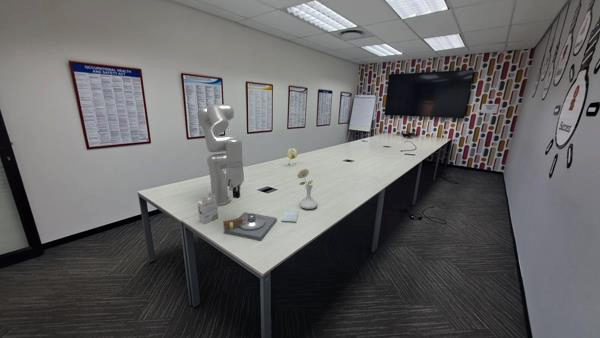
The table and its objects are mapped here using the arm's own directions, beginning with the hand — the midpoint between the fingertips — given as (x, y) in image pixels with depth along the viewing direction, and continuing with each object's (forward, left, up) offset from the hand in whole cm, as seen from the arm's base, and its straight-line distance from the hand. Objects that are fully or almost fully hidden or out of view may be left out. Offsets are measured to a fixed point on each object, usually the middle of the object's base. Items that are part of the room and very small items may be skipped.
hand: (236, 197), depth 120 cm
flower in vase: (+29, +33, -16) cm, 47 cm away
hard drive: (+24, +16, -16) cm, 33 cm away
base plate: (+8, 0, -16) cm, 18 cm away
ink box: (-18, -1, -16) cm, 24 cm away
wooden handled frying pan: (+6, -3, -13) cm, 15 cm away
